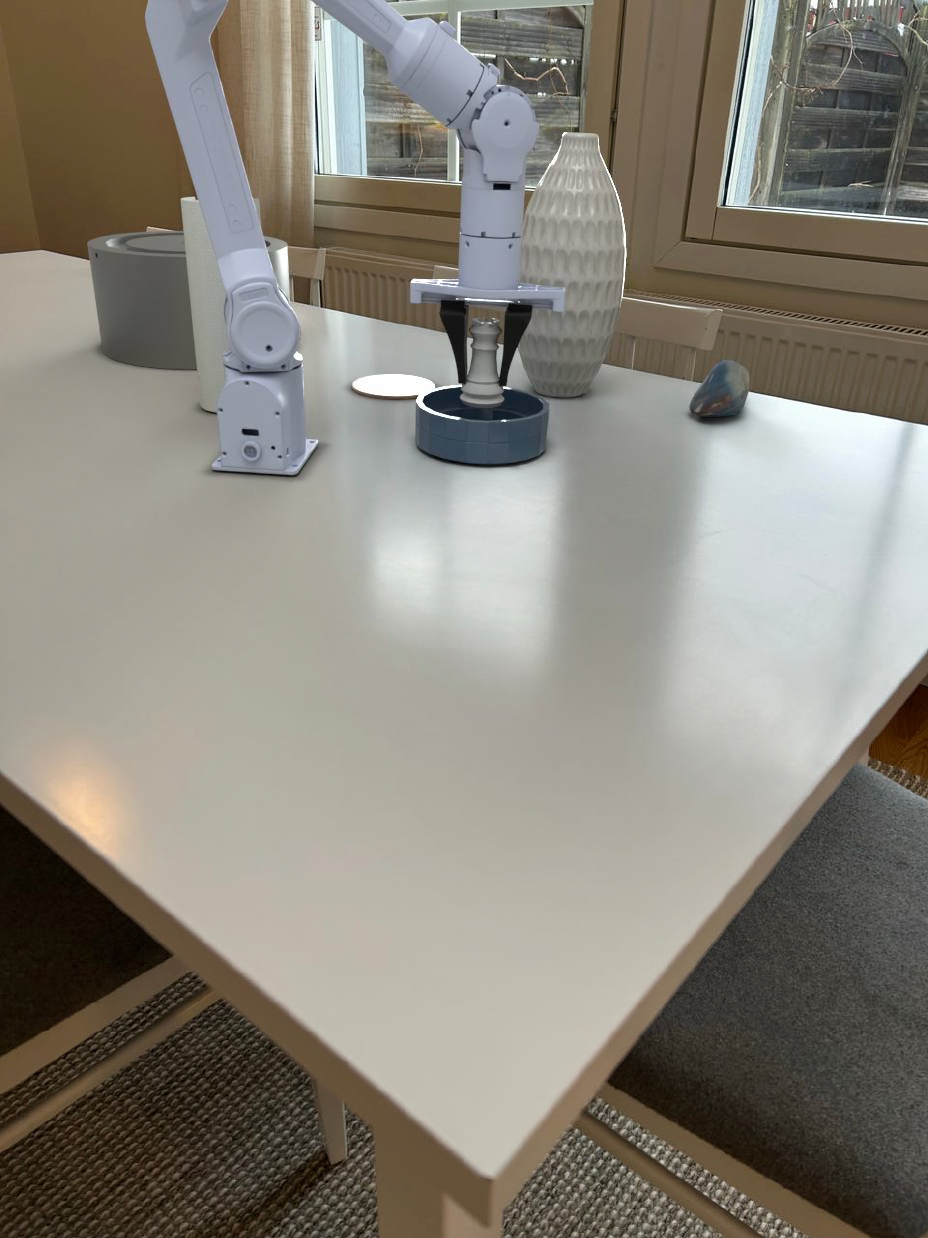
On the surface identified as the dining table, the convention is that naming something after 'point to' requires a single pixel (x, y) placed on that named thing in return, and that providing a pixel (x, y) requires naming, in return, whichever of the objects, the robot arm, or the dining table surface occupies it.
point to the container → (153, 296)
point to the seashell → (722, 391)
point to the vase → (572, 268)
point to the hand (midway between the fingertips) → (483, 382)
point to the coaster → (392, 386)
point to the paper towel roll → (206, 302)
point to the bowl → (481, 427)
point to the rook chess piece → (483, 366)
